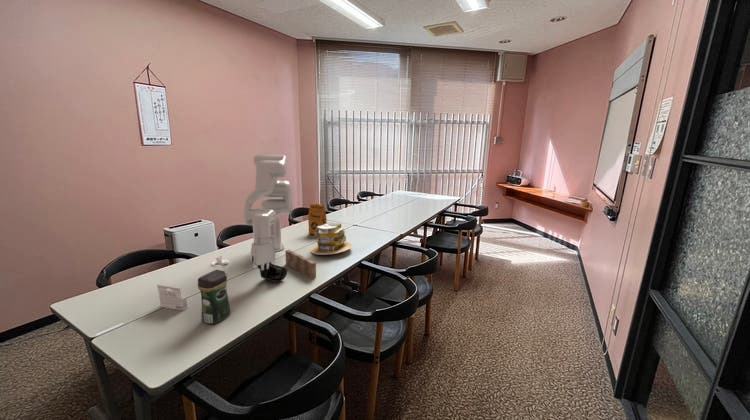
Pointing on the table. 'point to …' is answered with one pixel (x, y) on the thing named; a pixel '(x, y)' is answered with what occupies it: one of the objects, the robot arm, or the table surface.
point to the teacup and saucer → (220, 261)
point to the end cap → (276, 273)
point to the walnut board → (301, 264)
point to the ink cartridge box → (172, 298)
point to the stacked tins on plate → (330, 239)
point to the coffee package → (316, 217)
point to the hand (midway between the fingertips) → (264, 276)
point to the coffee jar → (214, 296)
